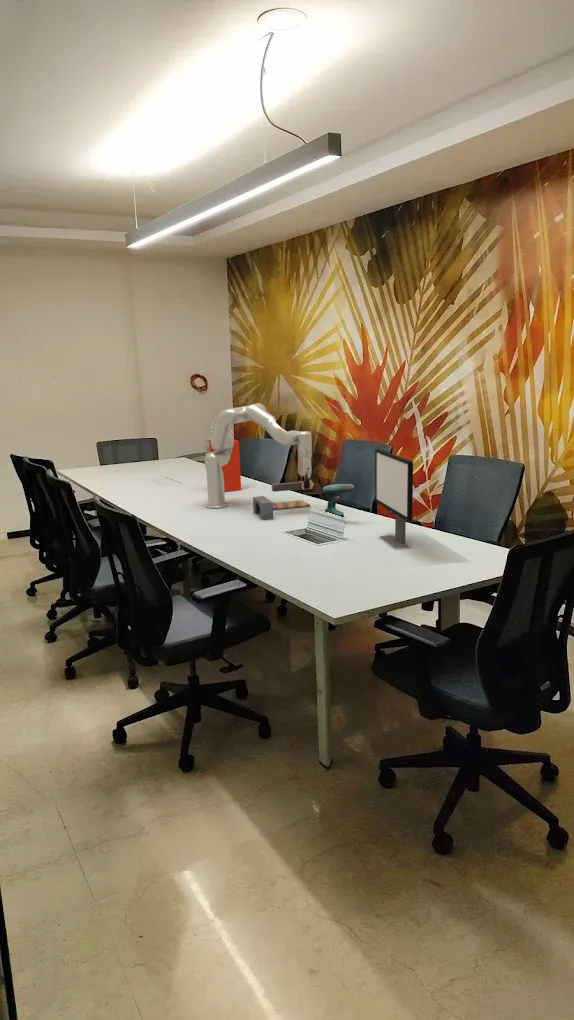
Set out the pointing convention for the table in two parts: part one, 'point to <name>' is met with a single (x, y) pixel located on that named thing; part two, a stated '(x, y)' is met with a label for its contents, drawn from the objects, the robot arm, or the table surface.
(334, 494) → the power drill
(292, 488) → the grey and orange bar
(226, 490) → the file binder
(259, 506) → the grey slotted block
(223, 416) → the robot arm
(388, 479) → the computer monitor
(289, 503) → the pad
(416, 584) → the table surface
